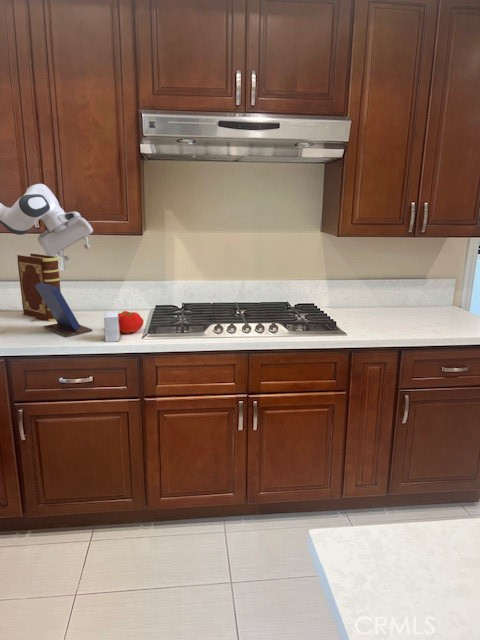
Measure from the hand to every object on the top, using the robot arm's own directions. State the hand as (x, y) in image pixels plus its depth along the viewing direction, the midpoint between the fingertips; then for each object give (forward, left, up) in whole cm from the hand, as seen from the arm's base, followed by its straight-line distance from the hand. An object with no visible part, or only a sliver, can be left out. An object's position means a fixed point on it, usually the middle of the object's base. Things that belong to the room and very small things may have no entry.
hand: (78, 254), depth 183 cm
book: (+12, +14, -34) cm, 38 cm away
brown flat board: (+11, +15, -35) cm, 40 cm away
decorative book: (+28, +38, -36) cm, 59 cm away
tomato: (+16, -12, -36) cm, 41 cm away
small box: (+4, -10, -36) cm, 37 cm away
